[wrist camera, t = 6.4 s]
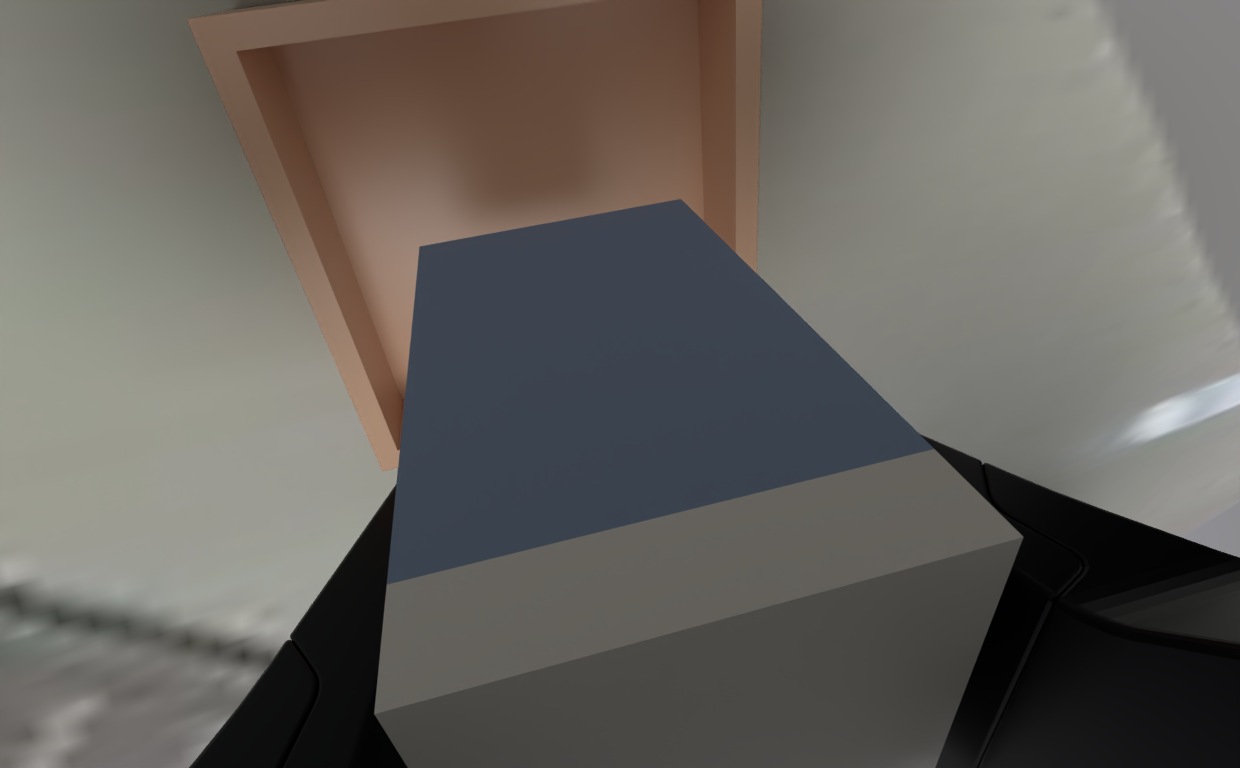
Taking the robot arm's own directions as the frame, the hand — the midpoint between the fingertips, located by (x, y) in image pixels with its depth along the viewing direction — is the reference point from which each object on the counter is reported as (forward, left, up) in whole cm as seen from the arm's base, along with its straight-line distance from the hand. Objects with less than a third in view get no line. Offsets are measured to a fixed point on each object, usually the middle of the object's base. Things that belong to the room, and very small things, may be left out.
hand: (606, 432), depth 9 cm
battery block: (0, 0, -3) cm, 3 cm away
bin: (0, 0, -10) cm, 10 cm away
